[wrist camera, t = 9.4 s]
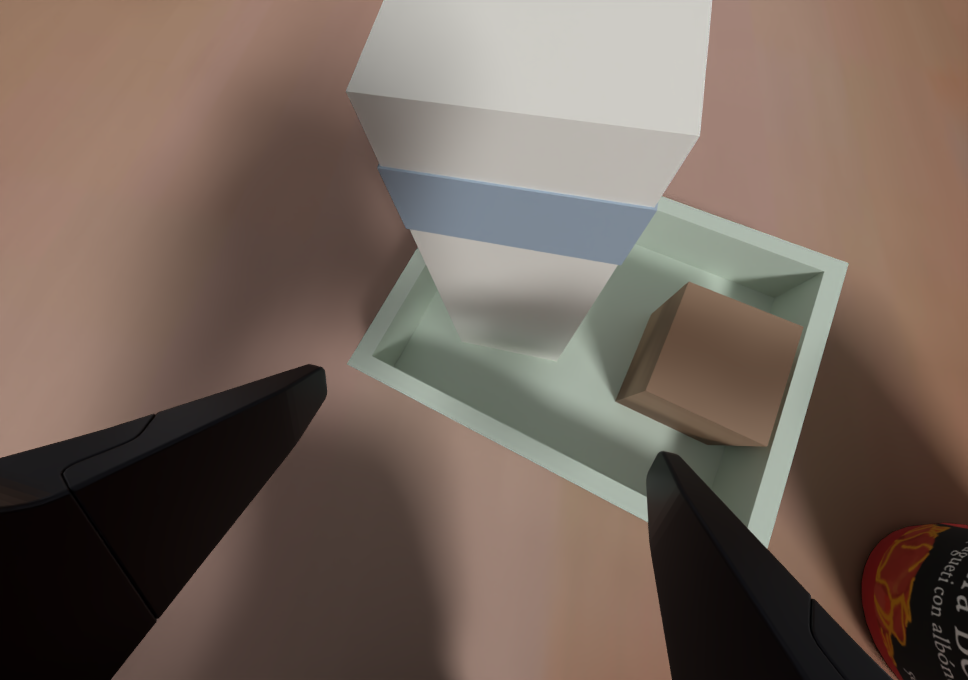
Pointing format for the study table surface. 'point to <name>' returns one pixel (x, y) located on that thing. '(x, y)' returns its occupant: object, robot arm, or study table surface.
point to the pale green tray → (618, 364)
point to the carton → (529, 146)
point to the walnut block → (712, 368)
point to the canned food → (920, 601)
